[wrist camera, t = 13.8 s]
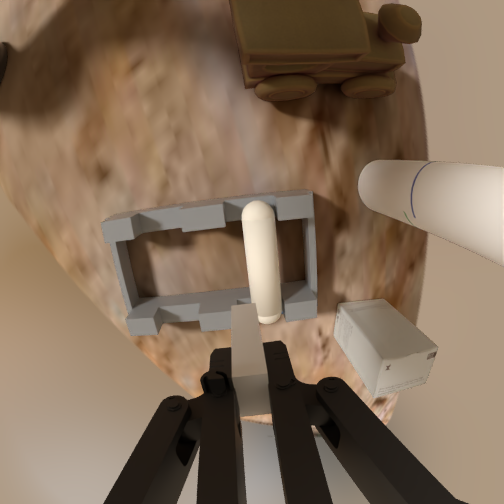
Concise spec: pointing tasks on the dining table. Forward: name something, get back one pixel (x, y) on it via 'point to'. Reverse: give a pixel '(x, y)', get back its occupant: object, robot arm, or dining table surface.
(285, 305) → the grey notched frame
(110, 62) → the dining table surface
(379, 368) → the skincare box
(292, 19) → the wooden toy train
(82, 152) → the dining table surface
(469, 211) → the cylindrical container
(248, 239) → the cream round-ended rod
